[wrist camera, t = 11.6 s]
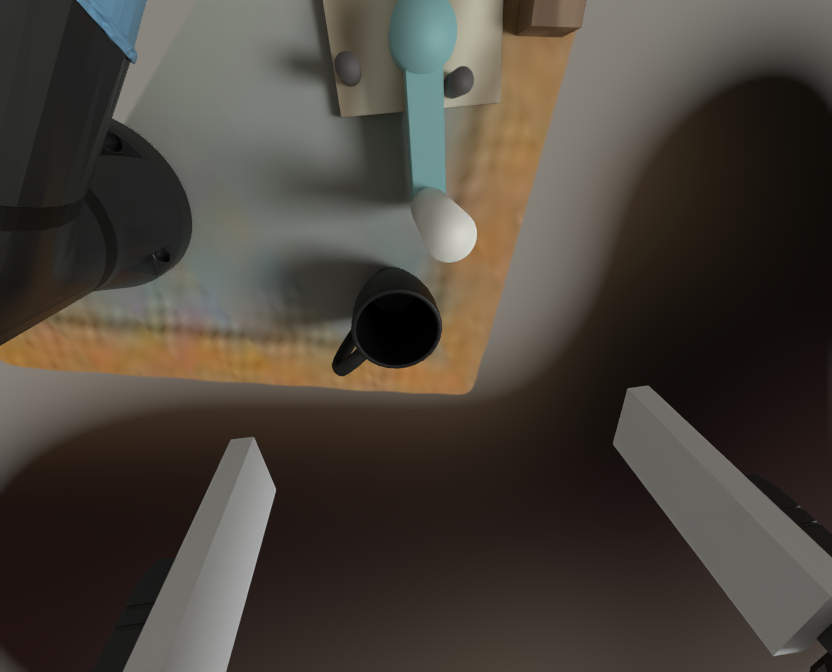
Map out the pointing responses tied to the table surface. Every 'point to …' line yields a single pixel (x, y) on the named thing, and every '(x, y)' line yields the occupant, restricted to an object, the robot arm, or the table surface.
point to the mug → (390, 324)
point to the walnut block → (550, 17)
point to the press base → (382, 80)
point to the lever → (429, 122)
